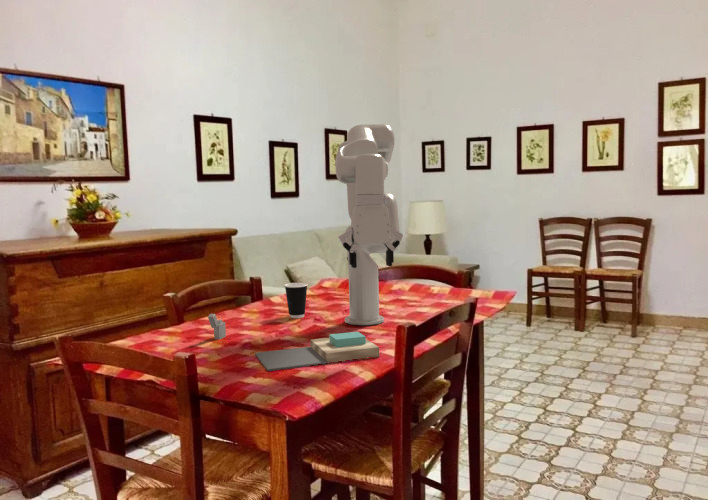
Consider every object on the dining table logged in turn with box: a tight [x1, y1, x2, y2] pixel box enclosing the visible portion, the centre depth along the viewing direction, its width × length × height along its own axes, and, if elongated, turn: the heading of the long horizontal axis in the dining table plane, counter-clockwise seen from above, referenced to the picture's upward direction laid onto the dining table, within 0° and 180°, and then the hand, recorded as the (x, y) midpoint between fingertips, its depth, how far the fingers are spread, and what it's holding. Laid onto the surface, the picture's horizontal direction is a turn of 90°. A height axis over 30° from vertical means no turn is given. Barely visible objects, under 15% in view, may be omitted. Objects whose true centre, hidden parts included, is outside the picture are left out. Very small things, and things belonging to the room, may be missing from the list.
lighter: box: [207, 313, 227, 341], centre depth 179 cm, size 7×2×8 cm, turn 164°
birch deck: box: [310, 337, 380, 364], centre depth 161 cm, size 15×14×2 cm
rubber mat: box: [254, 346, 329, 372], centre depth 156 cm, size 16×15×1 cm
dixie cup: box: [283, 282, 309, 319], centre depth 207 cm, size 8×8×11 cm
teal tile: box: [328, 331, 367, 347], centre depth 161 cm, size 6×8×2 cm
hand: (371, 266), depth 162 cm, fingers open, 9 cm apart
